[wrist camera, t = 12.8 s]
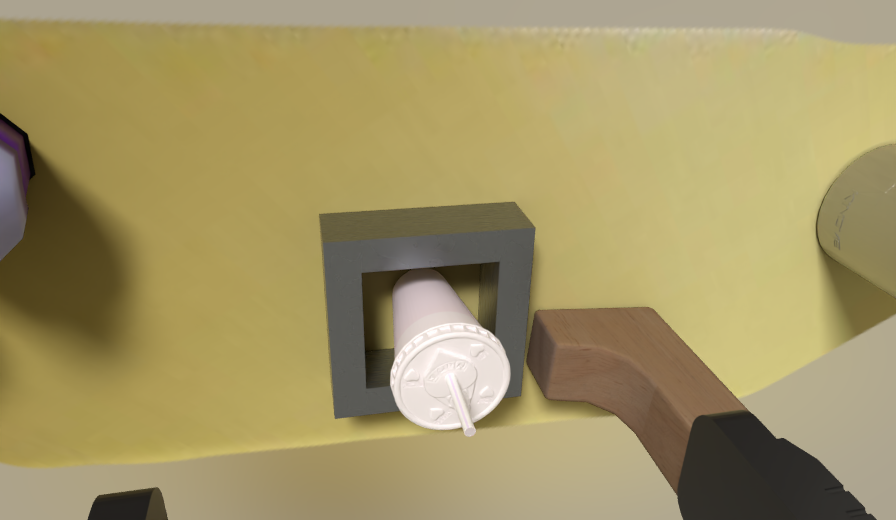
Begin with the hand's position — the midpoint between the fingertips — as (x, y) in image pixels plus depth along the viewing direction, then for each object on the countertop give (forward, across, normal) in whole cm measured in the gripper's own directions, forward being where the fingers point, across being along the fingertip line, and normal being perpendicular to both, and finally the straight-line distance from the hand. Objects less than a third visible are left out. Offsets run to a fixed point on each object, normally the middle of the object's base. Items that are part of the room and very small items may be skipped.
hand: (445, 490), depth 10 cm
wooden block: (+30, -17, +18) cm, 39 cm away
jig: (+30, -5, +14) cm, 34 cm away
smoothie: (+30, -5, +14) cm, 34 cm away
